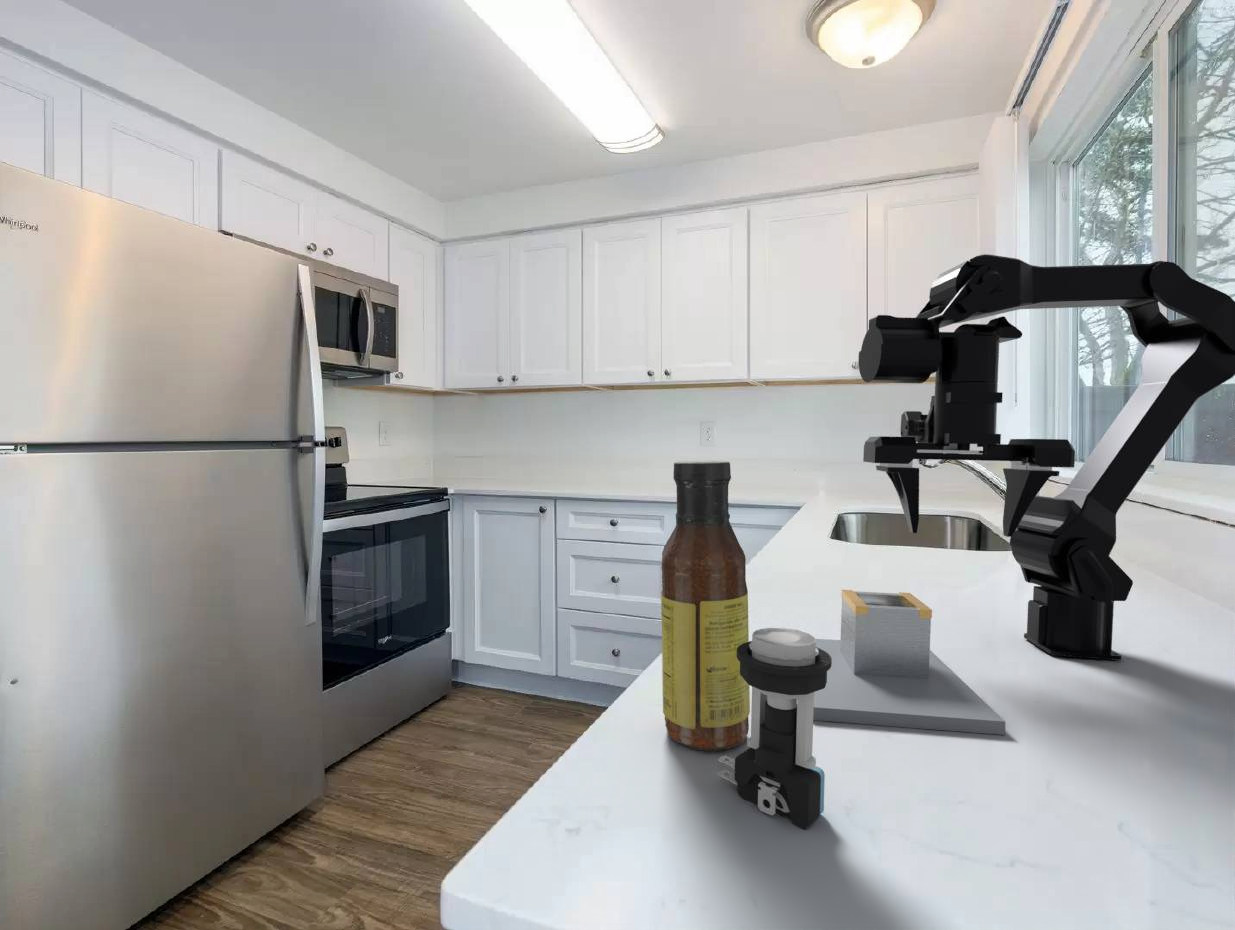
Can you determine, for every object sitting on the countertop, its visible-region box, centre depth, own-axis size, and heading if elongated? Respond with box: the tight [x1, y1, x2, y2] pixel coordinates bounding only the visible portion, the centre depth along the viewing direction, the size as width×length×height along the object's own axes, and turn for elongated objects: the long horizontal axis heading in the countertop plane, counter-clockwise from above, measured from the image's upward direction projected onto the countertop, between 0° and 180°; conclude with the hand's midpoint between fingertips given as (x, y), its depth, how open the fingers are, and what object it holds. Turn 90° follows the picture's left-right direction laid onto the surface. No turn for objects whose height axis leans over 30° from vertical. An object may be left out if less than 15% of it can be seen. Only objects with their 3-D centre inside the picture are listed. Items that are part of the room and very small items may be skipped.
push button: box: [717, 627, 832, 830], centre depth 38 cm, size 7×5×10 cm
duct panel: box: [813, 638, 1006, 736], centre depth 57 cm, size 14×18×6 cm
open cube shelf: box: [840, 589, 933, 680], centre depth 59 cm, size 6×6×6 cm
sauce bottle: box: [660, 460, 751, 751], centre depth 46 cm, size 7×6×20 cm
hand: (960, 534), depth 67 cm, fingers open, 9 cm apart
